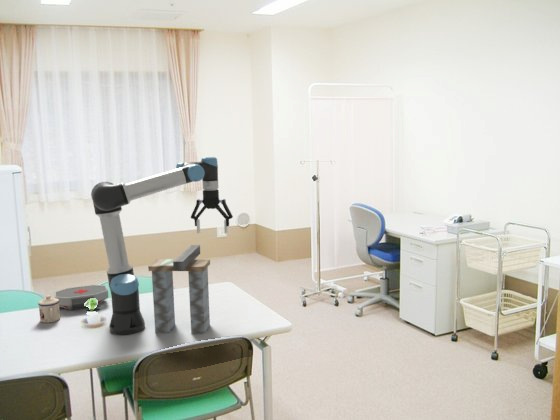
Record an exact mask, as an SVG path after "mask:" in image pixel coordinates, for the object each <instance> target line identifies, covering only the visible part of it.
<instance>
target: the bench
mask: <svg viewBox="0 0 560 420" xmlns="http://www.w3.org/2000/svg"><path fill="white" fill-rule="evenodd" d="M175 259H176V258H165V259H164V258H163V259H161V258H160V259H159V258H158V259H156V260H155V261H153V262H152V263H151V264H150V265H148V272H151V280H152V281H151V282H152V283H151V284H152V298H153V314H154V315H153V317H154V330H155V331H154V333H156V334H157V333H160V334H161V333H163V334H168V333H170V332H171V330H172V329H173V328H174V327H175V326H176V318H175V317H176V315H175V312H176V311H175V298H174V297H175V295H174V275H173V274H174V273H173V272H175V271H174V270H173V261H174V260H175ZM210 265H211V259H195V260H194V261H193V262H192V263H191V264H190V265H189V266H188V267H187V268H186V269H185V270H184V271H183V272H188V291H189V292H188V293H189V296H188V297H189V314H190V315H189V316H190V333H191V334H206V332H207V330H208V329H209V327H210V326H211V325H210V324H211V319H210V299H209V298H210V297H209V294H210V293H209V273H208V272H209V270H208V268H209V266H210Z"/></svg>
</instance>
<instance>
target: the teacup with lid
mask: <svg viewBox="0 0 560 420" xmlns="http://www.w3.org/2000/svg"><path fill="white" fill-rule="evenodd" d="M37 303H38V309H39V310H38V311H39V321H40V322H41V323H43V324H48V323H49V322H51V323H54V322H58V321H59V320H60V318H61V312H60V306H59V300H58V299H57V298H55V297H51V295H49V294H48V295H46V296H45V298H43V299H41V300H39V301H38V302H37ZM49 324H50V323H49Z"/></svg>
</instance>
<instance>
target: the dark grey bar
mask: <svg viewBox="0 0 560 420" xmlns="http://www.w3.org/2000/svg"><path fill="white" fill-rule="evenodd" d="M199 255H201V245H200V244H191V245H190V246H189V247H188V248H187V249H186V250H184V251H183V252H182V253H181V254H180V255H179V256H178V257H176V258H174V259H175V260H174V261H173V270H174V271H173V272H185V271H184V270H185V269H186V268H187V267H188V266H189V265H190V264H191V263H192V262H193V261H194V260H197V257H199Z"/></svg>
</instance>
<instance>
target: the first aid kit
mask: <svg viewBox="0 0 560 420" xmlns="http://www.w3.org/2000/svg"><path fill="white" fill-rule="evenodd" d="M54 298H57V299H58V300H59V308H60V307H61V308H62V309H66V310H68V309H72V310H77V309H81V308H83V307H84V303H85V302H86V301H87V300H88V299H90V298H96V299H97V300H98V305H100V304H101V303H102V302H104V301H106V300H107V299H108V298H109V290H108V287H107V285H103V284H101V285H99V284H89V285H83V286H82V285H81V286H73V287H67V288H63V289H60V290H57V291H54ZM76 308H77V309H76ZM84 308H85V307H84Z"/></svg>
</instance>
